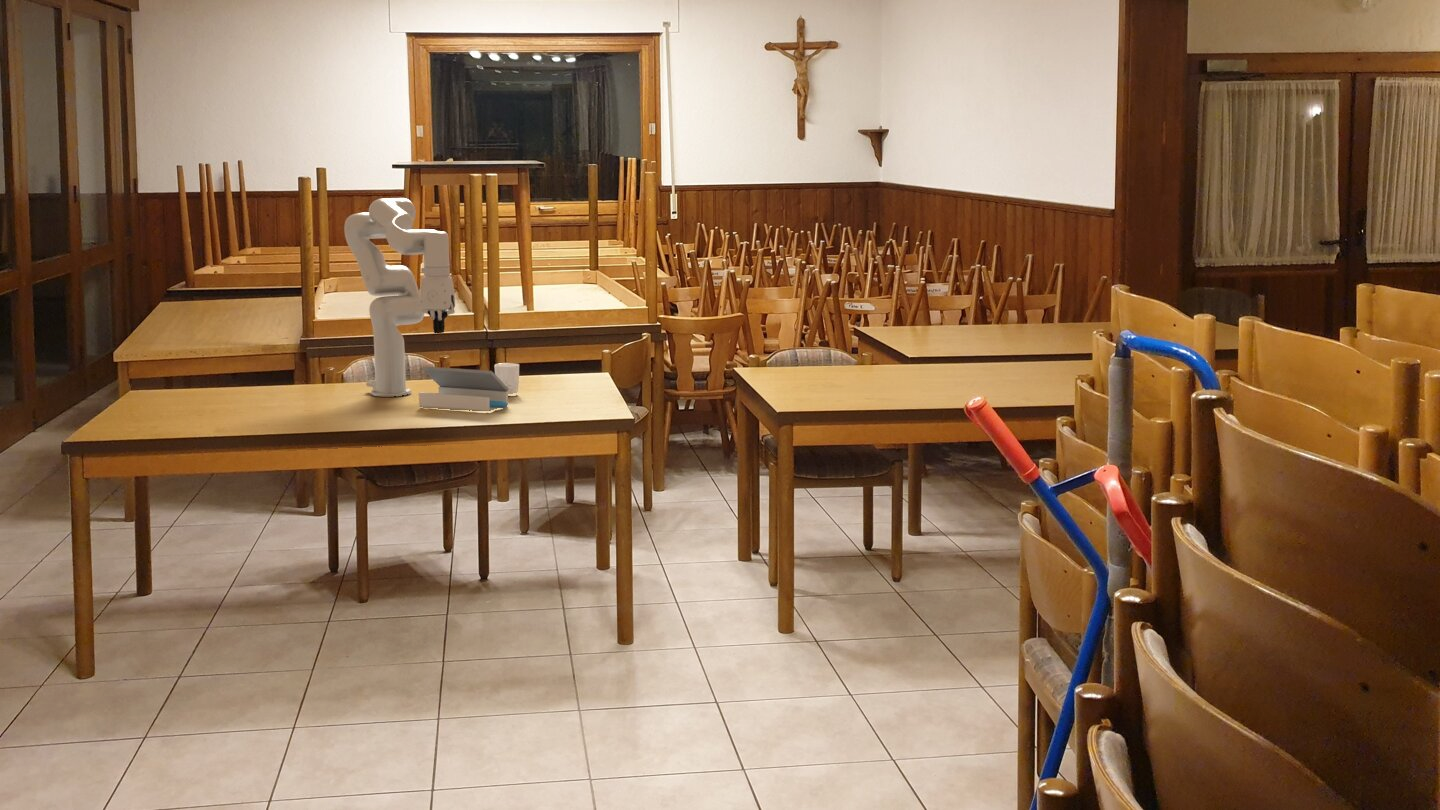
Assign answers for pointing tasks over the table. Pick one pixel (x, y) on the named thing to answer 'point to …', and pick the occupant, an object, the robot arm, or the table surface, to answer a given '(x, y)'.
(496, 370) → the white cup
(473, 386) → the cover
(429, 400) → the pale long box
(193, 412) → the table surface
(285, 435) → the table surface
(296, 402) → the table surface
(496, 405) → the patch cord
